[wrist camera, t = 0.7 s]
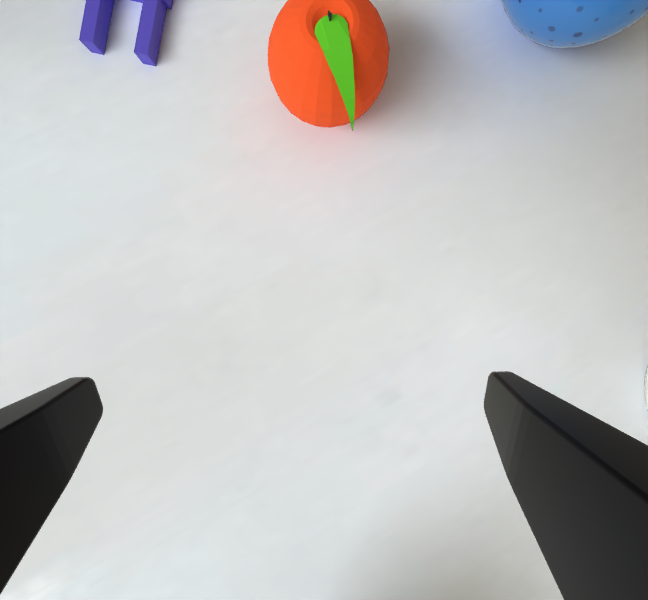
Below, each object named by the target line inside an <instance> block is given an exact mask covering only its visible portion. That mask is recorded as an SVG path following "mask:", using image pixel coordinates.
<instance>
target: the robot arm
mask: <svg viewBox="0 0 648 600" xmlns="http://www.w3.org/2000/svg"><path fill="white" fill-rule="evenodd" d="M484 410H485V414H486V417H487V420H488V423H489V426H490V429H491V432H492V435H493V437H494V440H495V443H496V446H497V449H498V452H499V455H500V458H501V461H502V464H503V467H504V469H505V472H506V475H507V477H508V480H509V482H510V484H511V487H512V489H513V491H514V493H515V495H516V497H517V500H518V502H519V504H520V506H521V508H522V510H523V512H524V515H525V517H526V519H527V521H528V523H529V525H530V527H531V530H532V532H533V534H534V536H535V538H536V540H537V543H538V545H539V547H540V549H541V551H542V553H543V555H544V558H545V560H546V562H547V564H548V566H549V568H550V570H551V573H552V575H553V577H554V579H555V581H556V583H557V585H558V588H559V590H560V592H561V594H562V596H563V598H564V600H648V445H646V444H644V443H642V442H640V441H638V440H637V439H635V438H633V437H631V436H629V435H627V434H625V433H624V432H622V431H620V430H618V429H616V428H614V427H612V426H611V425H609V424H607V423H605V422H603V421H601V420H599V419H598V418H596V417H594V416H592V415H590V414H588V413H586V412H585V411H583V410H581V409H579V408H577V407H575V406H573V405H572V404H570V403H568V402H566V401H564V400H562V399H560V398H558V397H557V396H555V395H553V394H551V393H549V392H547V391H545V390H544V389H542V388H540V387H538V386H536V385H534V384H532V383H531V382H529V381H527V380H525V379H523V378H521V377H519V376H518V375H516V374H514V373H512V372H508V371H504V372H492V373H490V375H489V377H488V382H487V388H486V393H485V399H484ZM102 413H103V406H102V402H101V399H100V396H99V393H98V390H97V388H96V385H95V382H94V381H93V379H91V378H89V377H73V378H69V379H67V380H65V381H62V382H60V383H58V384H56V385H53V386H51V387H49V388H47V389H44V390H42V391H40V392H38V393H35V394H33V395H31V396H29V397H26V398H24V399H22V400H20V401H17V402H15V403H13V404H10V405H8V406H6V407H4V408H1V409H0V594H1V592H2V591H3V589H4V588H5V586H6V584H7V583H8V581H9V579H10V578H11V576H12V574H13V573H14V571H15V570H16V568H17V566H18V565H19V563H20V561H21V560H22V558H23V556H24V555H25V553H26V552H27V550H28V548H29V547H30V545H31V543H32V542H33V540H34V539H35V537H36V535H37V534H38V532H39V530H40V529H41V527H42V525H43V524H44V522H45V521H46V519H47V517H48V516H49V514H50V512H51V511H52V509H53V507H54V506H55V504H56V503H57V501H58V499H59V498H60V496H61V494H62V493H63V491H64V489H65V488H66V486H67V484H68V483H69V481H70V479H71V477H72V475H73V473H74V471H75V469H76V468H77V466H78V464H79V461H80V459H81V457H82V455H83V453H84V451H85V449H86V447H87V445H88V443H89V441H90V439H91V437H92V435H93V433H94V431H95V429H96V427H97V425H98V423H99V421H100V419H101V416H102Z"/></svg>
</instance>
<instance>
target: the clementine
mask: <svg viewBox="0 0 648 600" xmlns="http://www.w3.org/2000/svg"><path fill="white" fill-rule="evenodd" d="M388 58H389V44H388V38H387V33H386V30H385V27H384V25H383V22H382V20H381V18H380V16H379V14H378V11H377V9H376V8H375V7H374V6H373V5H372V3H371V2H370V1H369V0H288V1H287V2H286V3H285V5H284V6H283V8H282V9H281V11H280V12H279V14H278V16H277V18H276V20H275V22H274V25H273V28H272V31H271V34H270V37H269V46H268V66H269V71H270V77H271V81H272V83H273V85H274V87H275V90H276V92H277V94H278V96H279V98H280V100H281V101H282V103H283V104H284V105H285V106H286V107H287V109H288V110H289V111H290V112H291V113H292V114H293V115H295V116H296V117H298V118H299V119H301V120H302V121H304V122H307V123H309V124H312V125H315V126H320V127H335V126H340V125H345V124H347V123H351V127H352V130H353V124H354V120H356V119H358V118H359V117H360V116H361V115H363V114H364V113H365V112H366V111H367V110H368V109H369V108H370V107H371V105H372V104H373V103H374V101H375V100H376V98H377V97H378V95H379V93H380V92H381V90H382V87H383V84H384V82H385V79H386V76H387V69H388Z"/></svg>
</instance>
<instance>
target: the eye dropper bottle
mask: <svg viewBox="0 0 648 600" xmlns="http://www.w3.org/2000/svg"><path fill="white" fill-rule="evenodd" d="M645 400H646V405H647V409H648V368H647V372H646V377H645Z"/></svg>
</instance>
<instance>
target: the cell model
mask: <svg viewBox="0 0 648 600" xmlns="http://www.w3.org/2000/svg"><path fill="white" fill-rule="evenodd" d="M501 2H502V4H503V7H504V10H505V12H506V14H507V16H508V18H509V19H510V21H511V22H512V24H513V25H514V27H515V28H516V29H517V30H518V31H519V32H520V33H521V34H523V35H524V36H525V37H526V38H528V39H530V40H531V41H533V42H535V43H538V44H541V45H543V46H546V47H552V48H576V47H581V46H585V45H590V44H593V43H597V42H599V41H602V40H604V39H607V38H609V37H611V36H614V35H616V34H618V33H619V32H621V31H623V30H624V29H626V28H627V27H629V26H631V25H632V24H634V23H635V22H637V21H638V20H640V19H641V18H642V17H644V16H645V15H646V14H647V13H648V0H501Z"/></svg>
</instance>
